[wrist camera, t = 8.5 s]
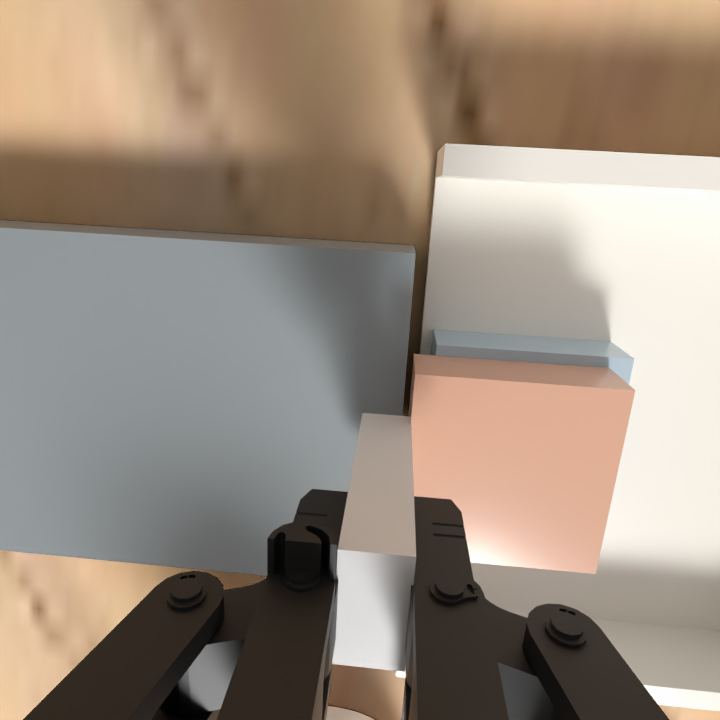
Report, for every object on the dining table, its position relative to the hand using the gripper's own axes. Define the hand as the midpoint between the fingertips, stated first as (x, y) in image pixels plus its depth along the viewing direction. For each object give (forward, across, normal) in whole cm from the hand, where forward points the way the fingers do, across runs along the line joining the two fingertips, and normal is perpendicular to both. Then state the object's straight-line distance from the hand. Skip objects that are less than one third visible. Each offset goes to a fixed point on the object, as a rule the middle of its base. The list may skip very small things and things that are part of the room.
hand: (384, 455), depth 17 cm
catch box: (+4, +8, 0) cm, 9 cm away
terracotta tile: (+2, +4, 0) cm, 4 cm away
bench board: (+4, -10, 0) cm, 11 cm away
